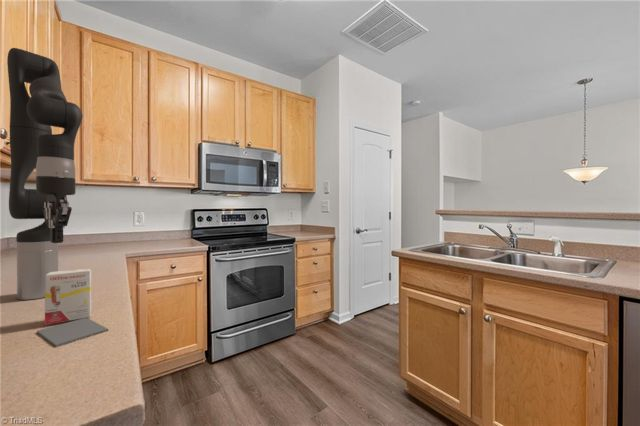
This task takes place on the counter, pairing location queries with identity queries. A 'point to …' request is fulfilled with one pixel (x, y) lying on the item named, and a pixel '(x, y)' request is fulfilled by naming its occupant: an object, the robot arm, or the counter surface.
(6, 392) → the counter surface
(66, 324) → the mat
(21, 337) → the counter surface
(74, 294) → the ink box
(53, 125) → the robot arm
